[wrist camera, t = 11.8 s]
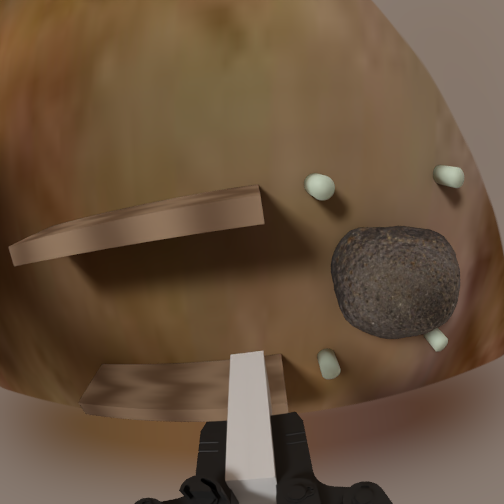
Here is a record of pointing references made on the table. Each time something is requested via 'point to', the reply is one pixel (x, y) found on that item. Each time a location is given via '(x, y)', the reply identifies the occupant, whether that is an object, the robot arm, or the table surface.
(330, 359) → the zone posts
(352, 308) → the stone
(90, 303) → the table surface
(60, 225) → the channel
